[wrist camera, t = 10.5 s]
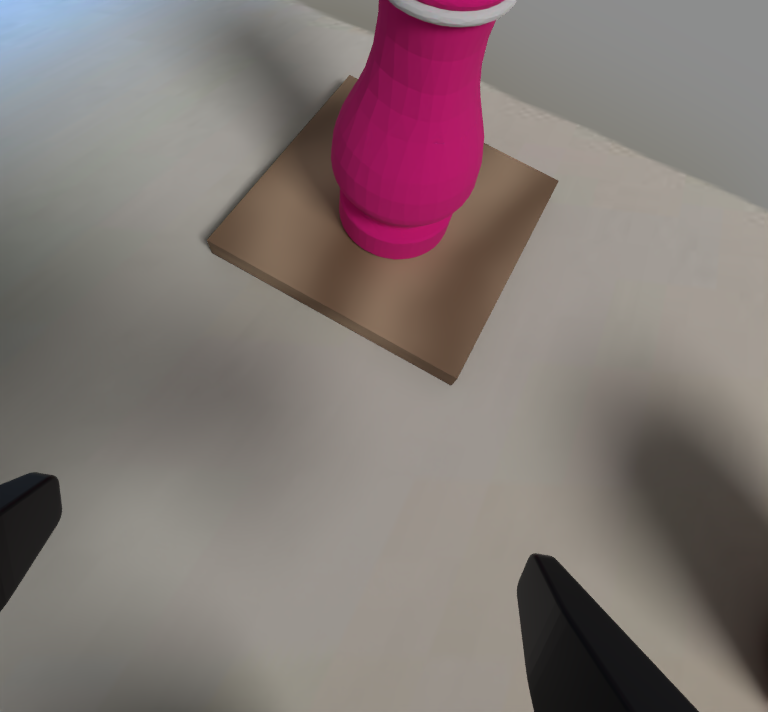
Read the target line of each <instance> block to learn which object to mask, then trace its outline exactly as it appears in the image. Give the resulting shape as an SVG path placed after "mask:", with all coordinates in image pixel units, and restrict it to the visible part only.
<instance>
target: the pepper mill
mask: <svg viewBox="0 0 768 712" xmlns="http://www.w3.org/2000/svg"><path fill="white" fill-rule="evenodd" d="M516 1H517V0H379V12H378V18H377V24H376V30H375V36H374V42H373V45H372V48H371V51H370V54H369V57H368V60H367V63H366V66H365V68H364V70H363V72H362V73H361V75H360V77H359V79H358V80H357V82H356V83H355V85H354V86H353V88H352V90H351V91H350V93H349V95H348V96H347V98H346V100H345V101H344V103H343V105H342V107H341V110H340V112H339V115H338V118H337V120H336V123H335V127H334V130H333V139H332V147H331V162H332V170H333V173H334V176H335V179H336V182H337V183H338V185H339V187H340V201H339V214H340V219H341V222H342V225H343V227H344V229H345V231H346V232H347V234H348V235H349V237H350V238H351V239H352V240H353V241H354V242H355V243H356V244H357V245H359V246H360V247H361V248H362V249H364V250H366V251H368V252H370V253H372V254H374V255H376V256H379V257H383V258H388V259H394V260H396V259H410V258H414V257H417V256H420V255H423V254H425V253H427V252H429V251H430V250H431V249H433V248H434V247H435V246H436V245H437V244H438V243H439V242H440V241H441V239H442V238H443V236H444V234H445V232H446V230H447V227H448V225H449V222H450V220H451V217H452V215H453V213H454V212H455V211H457V210H458V209H459V208H460V207H461V206H462V205H463V204H464V203H465V201H466V200H467V199H468V197H469V196H470V194H471V193H472V191H473V189H474V187H475V183H476V180H477V177H478V174H479V170H480V167H481V164H482V157H483V145H484V128H483V118H482V108H481V98H480V78H481V66H482V61H483V57H484V53H485V49H486V45H487V41H488V37H489V35H490V33H491V30H492V28H493V26H494V23H495V21H496V19H499V18H501V17H502V16H503V15H504V14H506V13H507V12H508V11H509V10H510V9H511V8H512V7H513V6H514V5H515V3H516Z"/></svg>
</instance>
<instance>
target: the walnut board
mask: <svg viewBox="0 0 768 712" xmlns="http://www.w3.org/2000/svg"><path fill="white" fill-rule="evenodd" d="M357 80H358V79H356V78H354V77H352V76H351V75H349V76H348V78H347V79H346V80H345V81H344V82H343V83H342V85H341V86H340V87H339V88H338V89H337V90H336V91H335V93H334V94H333V95H332V96H331V97H330V98H329V100H328V101H327V102H326V103H325V104H324V105H323V106H322V108H321V109H320V110H319V111H318V112H317V113H316V115H315V116H314V117H313V118H312V119H311V120H310V121H309V123H308V124H307V125H306V126H305V127H304V128H303V130H302V131H301V132H300V133H299V134H298V135H297V136H296V138H295V139H294V140H293V141H292V142H291V143H290V145H289V146H288V147H287V148H286V149H285V150H284V151H283V153H282V154H281V155H280V156H279V157H278V158H277V160H276V161H275V162H274V163H273V164H272V165H271V167H270V168H269V169H268V170H267V171H266V172H265V173H264V175H263V176H262V177H261V178H260V179H259V180H258V182H257V183H256V184H255V185H254V186H253V187H252V188H251V190H250V191H249V192H248V193H247V194H246V195H245V197H244V198H243V199H242V200H241V201H240V202H239V203H238V205H237V206H236V207H235V208H234V209H233V210H232V212H231V213H230V214H229V215H228V216H227V217H226V218H225V220H224V221H223V222H222V223H221V224H220V225H219V227H218V228H217V229H216V230H215V231H214V232H213V233H212V235H211V236H210V237H209V238H208V239H207V242H208V244H209V247H210V249H211V251H212V253H213V254H215V255H217V256H219V257H221V258H222V259H224V260H226V261H228V262H230V263H231V264H233V265H235V266H237V267H239V268H240V269H242V270H244V271H246V272H248V273H249V274H251V275H253V276H255V277H257V278H258V279H260V280H262V281H264V282H266V283H267V284H269V285H271V286H273V287H275V288H276V289H278V290H280V291H282V292H284V293H285V294H287V295H289V296H291V297H293V298H294V299H296V300H298V301H300V302H302V303H303V304H305V305H307V306H309V307H311V308H312V309H314V310H316V311H318V312H320V313H321V314H323V315H325V316H327V317H329V318H330V319H332V320H334V321H336V322H338V323H339V324H341V325H343V326H345V327H347V328H348V329H350V330H352V331H354V332H356V333H357V334H359V335H361V336H363V337H365V338H366V339H368V340H370V341H372V342H374V343H376V344H377V345H379V346H381V347H383V348H385V349H386V350H388V351H390V352H392V353H394V354H395V355H397V356H399V357H401V358H403V359H404V360H406V361H408V362H410V363H412V364H413V365H415V366H417V367H419V368H421V369H422V370H424V371H426V372H428V373H430V374H431V375H433V376H435V377H437V378H439V379H440V380H442V381H444V382H446V383H448V384H449V385H452V384H453V383H454V382H455V381H456V379H457V378H458V376H459V374H460V372H461V370H462V368H463V366H464V364H465V362H466V360H467V358H468V357H469V355H470V353H471V351H472V349H473V347H474V345H475V343H476V341H477V339H478V337H479V335H480V333H481V331H482V329H483V327H484V325H485V323H486V321H487V319H488V318H489V316H490V314H491V312H492V310H493V308H494V306H495V304H496V302H497V300H498V298H499V296H500V294H501V292H502V290H503V288H504V286H505V284H506V282H507V280H508V279H509V277H510V275H511V273H512V271H513V269H514V267H515V265H516V263H517V261H518V259H519V257H520V255H521V253H522V251H523V249H524V247H525V245H526V243H527V242H528V240H529V238H530V236H531V234H532V232H533V230H534V228H535V226H536V224H537V222H538V220H539V218H540V216H541V214H542V212H543V210H544V208H545V206H546V204H547V203H548V201H549V199H550V197H551V195H552V193H553V191H554V189H555V187H556V185H557V183H558V180H556V179H554V178H552V177H550V176H548V175H546V174H544V173H542V172H540V171H538V170H536V169H534V168H532V167H530V166H528V165H526V164H524V163H522V162H520V161H518V160H516V159H514V158H512V157H510V156H508V155H506V154H504V153H502V152H500V151H499V150H497V149H495V148H493V147H491V146H489V145H487V144H485V143H484V145H483V157H482V164H481V167H480V170H479V174H478V177H477V180H476V183H475V187H474V189H473V191H472V193H471V194H470V196H469V197H468V199H467V200H466V201H465V203H464V204H463V205H462V206H461V207H460V208H459V209H458V210H457V211H455V212H454V213H453V215H452V217H451V220H450V222H449V225H448V227H447V230H446V232H445V234H444V236H443V238H442V239H441V241H440V242H439V243H438V244H437V245H436V246H435V247H434V248H433V249H431V250H430V251H429V252H427V253H425V254H423V255H420V256H417V257H414V258H410V259H396V260H394V259H388V258H383V257H379V256H376V255H374V254H372V253H370V252H368V251H366V250H364V249H362V248H361V247H360V246H359V245H357V244H356V243H355V242H354V241H353V240H352V239H351V238H350V237H349V235H348V234H347V232H346V231H345V229H344V227H343V225H342V222H341V219H340V214H339V201H340V187H339V185H338V183H337V182H336V179H335V176H334V173H333V170H332V162H331V147H332V139H333V130H334V127H335V123H336V120H337V118H338V115H339V112H340V110H341V107H342V105H343V103H344V101H345V100H346V98H347V96H348V95H349V93H350V91H351V90H352V88H353V86H354V85H355V83H356V82H357Z"/></svg>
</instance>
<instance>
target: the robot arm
mask: <svg viewBox="0 0 768 712" xmlns="http://www.w3.org/2000/svg"><path fill="white" fill-rule="evenodd" d="M61 514H62V504H61V495H60V487H59V480H58V479H57V477H56V476H54V475H49V474H43V473H37V472H33V473H28V474H26V475H23V476H21V477H18V478H16V479H13V480H11V481H9V482H6V483H4V484H1V485H0V612H1V610H2V609H3V607H4V606H5V605H6V603H7V602H8V601H9V599H10V598H11V596H12V595H13V593H14V592H15V590H16V589H17V587H18V585H19V584H20V582H21V581H22V579H23V578H24V576H25V574H26V573H27V571H28V570H29V568H30V567H31V565H32V563H33V562H34V560H35V559H36V557H37V556H38V554H39V552H40V551H41V549H42V548H43V546H44V545H45V543H46V541H47V540H48V538H49V537H50V535H51V534H52V532H53V530H54V529H55V527H56V526H57V524H58V522H59V520H60V518H61ZM517 599H518V607H519V616H520V624H521V632H522V641H523V649H524V657H525V666H526V673H527V680H528V685H529V690H530V695H531V699H532V704H533V708H534V712H699V711H698V710H697V709H696V708H695V707H694V706H693V705H692V704H691V703H690V702H689V701H688V699H687V698H686V697H685V696H684V695H683V694H682V693H681V692H680V691H679V690H678V689H677V688H676V687H675V686H674V685H673V683H672V682H671V681H670V680H669V679H668V678H667V677H666V676H665V675H664V674H663V673H662V672H661V671H660V670H659V669H658V667H657V666H656V665H655V664H654V663H653V662H652V661H651V660H650V659H649V658H648V657H647V656H646V655H645V654H644V653H643V651H642V650H641V649H640V648H639V647H638V646H637V645H636V644H635V643H634V642H633V641H632V640H631V639H630V638H629V637H628V635H627V634H626V633H625V632H624V631H623V630H622V629H621V628H620V627H619V626H618V625H617V624H616V623H615V622H614V621H613V620H612V618H611V617H610V616H609V615H608V614H607V613H606V612H605V611H604V610H603V609H602V608H601V607H600V606H599V605H598V604H597V602H596V601H595V600H594V599H593V598H592V597H591V596H590V595H589V594H588V593H587V592H586V591H585V590H584V589H583V588H582V586H581V585H580V584H579V583H578V582H577V581H576V580H575V579H574V578H573V577H572V576H571V575H570V574H569V573H568V572H567V570H566V569H565V568H564V567H563V566H562V565H561V564H560V563H559V562H558V561H557V560H556V559H555V558H554V557H552V556H548V555H542V554H536V553H535V554H532V555H530V557H529V558H528V560H527V563H526V565H525V568H524V570H523V572H522V575H521V577H520V579H519V582H518V586H517Z"/></svg>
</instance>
